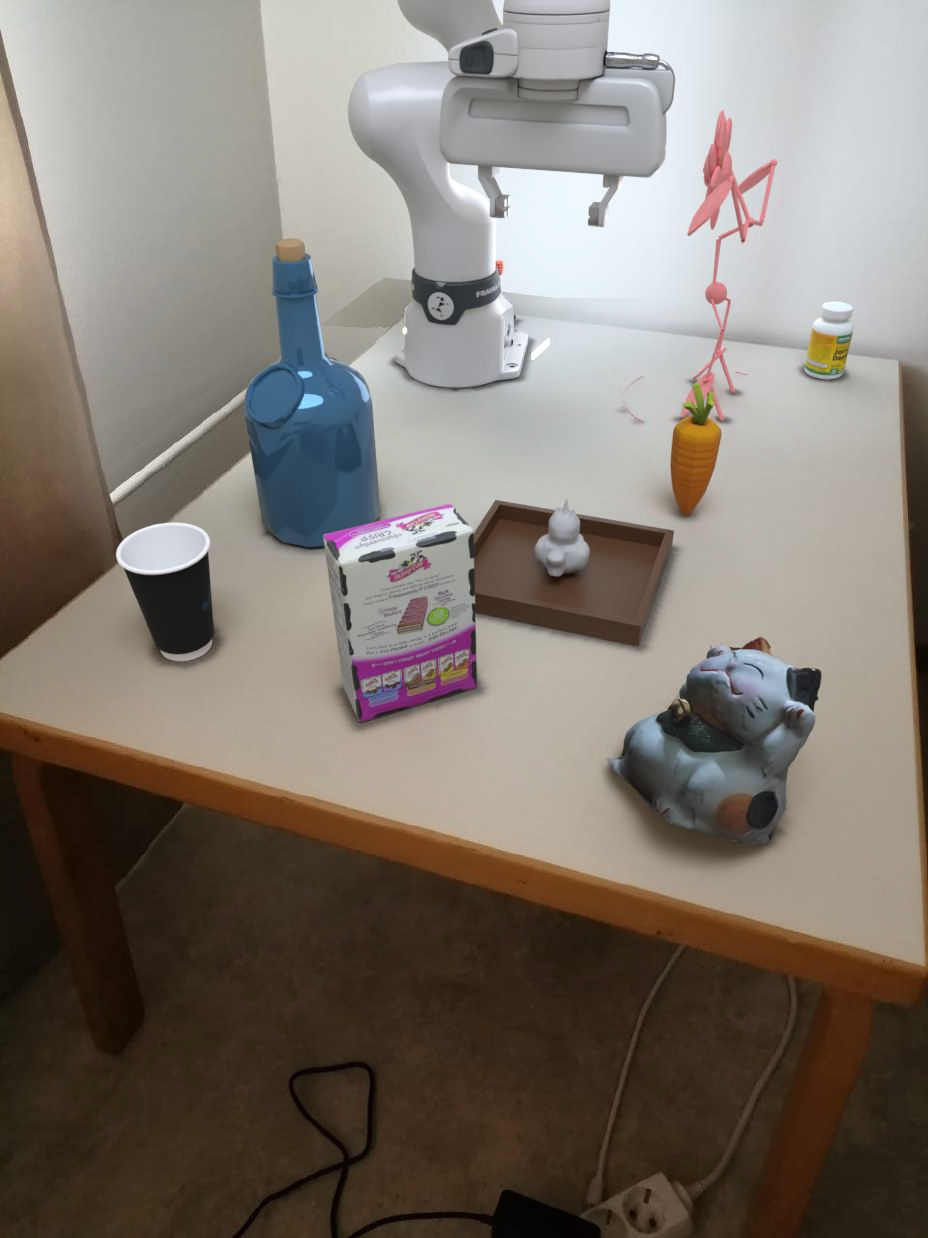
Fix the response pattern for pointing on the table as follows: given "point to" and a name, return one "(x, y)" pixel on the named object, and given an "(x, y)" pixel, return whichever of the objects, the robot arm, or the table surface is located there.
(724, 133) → the figurine
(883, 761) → the table surface
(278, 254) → the wine bottle
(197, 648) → the dixie cup
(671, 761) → the lucky cat figurine
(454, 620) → the candy bar box
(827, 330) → the supplement bottle
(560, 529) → the rubber duck
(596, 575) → the serving tray
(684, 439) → the carrot
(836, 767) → the table surface
